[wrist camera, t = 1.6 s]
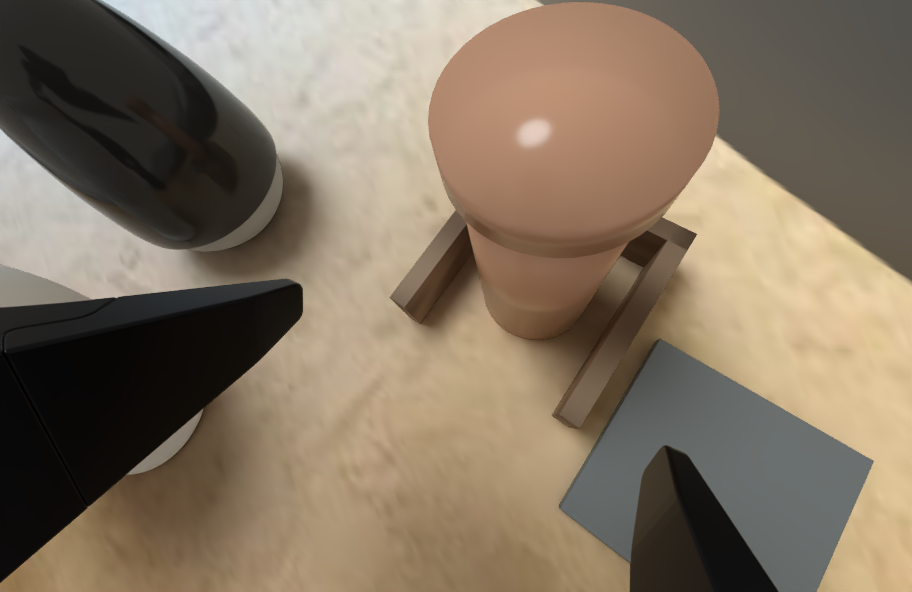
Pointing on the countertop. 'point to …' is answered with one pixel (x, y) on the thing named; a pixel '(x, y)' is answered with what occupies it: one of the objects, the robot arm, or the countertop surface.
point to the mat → (723, 466)
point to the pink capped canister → (566, 149)
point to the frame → (660, 260)
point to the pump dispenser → (134, 126)
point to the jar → (28, 289)
